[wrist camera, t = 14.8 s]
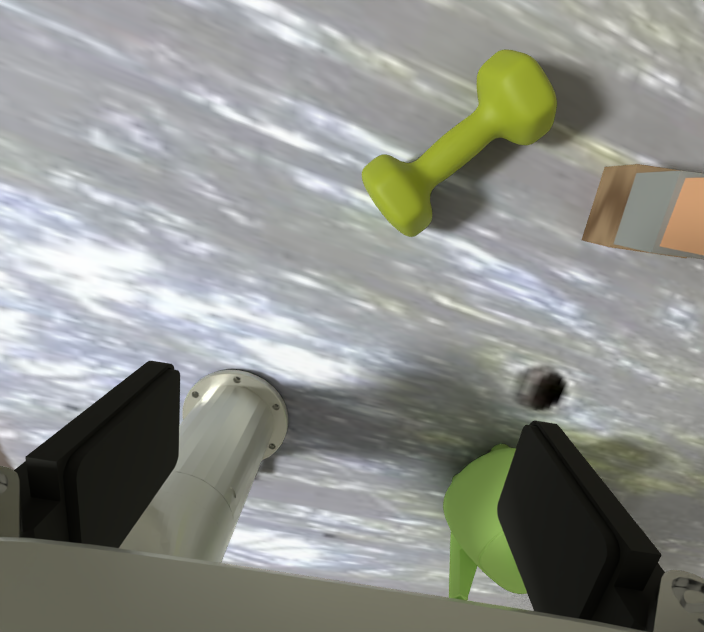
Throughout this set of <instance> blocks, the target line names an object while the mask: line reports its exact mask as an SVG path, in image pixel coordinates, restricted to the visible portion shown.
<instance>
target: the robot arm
mask: <svg viewBox="0 0 704 632" xmlns="http://www.w3.org/2000/svg"><path fill="white" fill-rule="evenodd" d="M238 377H239V378H238ZM277 404H278V405H277ZM179 413H180V373H179V371H178V370H174V366H173V365H172V364H169V363H162V362H156V361H148V362H147V363H145V364H144V365H143V366H141V367H140V368H139V369H138V370H136V371H135V372H134V373H132V374H131V375H130V376H129V377H127V378H126V379H125V380H123V381H122V382H121V383H120V384H118V385H117V386H116V387H114V388H113V389H112V390H111V391H109V392H108V393H107V394H105V395H104V396H103V397H102V398H100V399H99V400H98V401H96V402H95V403H94V404H93V405H91V406H90V407H89V408H88V409H86V410H85V411H84V412H82V413H81V414H80V415H79V416H77V417H76V418H75V419H73V420H72V421H71V422H70V423H68V424H67V425H66V426H64V427H63V428H62V429H61V430H59V431H58V432H57V433H55V434H54V435H53V436H52V437H50V438H49V439H48V440H46V441H45V442H44V443H43V444H41V445H40V446H39V447H37V448H36V449H35V450H34V451H32V452H31V453H30V454H29V455H27V456H26V461H25V462H24V463H23V464H21V465H20V466H19V467H18V468H16V469H15V470H12V469H11V468H8V467H3V466H0V632H704V579H703V578H701V577H699V576H697V575H695V574H691V573H688V572H685V571H680V570H670V571H667V572H664V571H663V569H662V568H661V567H660V565H659V564H658V561H659V559H660V557H661V553H660V552H659V551H658V550H657V548H656V547H655V546H654V545H653V543H652V542H651V541H650V540H649V538H648V537H647V536H646V535H645V533H644V532H643V531H642V530H641V528H640V527H639V526H638V525H637V523H636V522H635V521H634V520H633V518H632V517H631V516H630V515H629V513H628V512H627V511H626V510H625V508H624V507H623V506H622V505H621V503H620V502H619V501H618V500H617V498H616V497H615V496H614V495H613V493H612V492H611V491H610V490H609V488H608V487H607V486H606V485H605V483H604V482H603V481H602V479H601V478H600V477H599V476H598V474H597V473H596V472H595V471H594V469H593V468H592V467H591V466H590V464H589V463H588V462H587V461H586V459H585V458H584V457H583V456H582V454H581V453H580V452H579V451H578V449H577V448H576V447H575V446H574V444H573V443H572V442H571V441H570V439H569V438H568V437H567V436H566V434H565V433H564V432H563V431H562V429H561V428H560V427H559V426H558V425H557V424H553V423H547V422H540V421H532V422H531V424H530V425H525V426H524V427H523V430H522V432H521V435H520V438H519V441H518V444H517V447H516V450H515V453H514V456H513V459H512V462H511V465H510V468H509V471H508V474H507V477H506V480H505V483H504V486H503V489H502V492H501V495H500V498H499V501H498V505H497V515H498V519H499V522H500V524H501V527H502V530H503V532H504V535H505V537H506V540H507V542H508V545H509V547H510V550H511V553H512V555H513V558H514V560H515V563H516V565H517V568H518V571H519V573H520V576H521V578H522V581H523V583H524V586H525V588H526V591H527V594H528V596H529V599H530V601H531V604H532V606H533V609H534V611H530V610H523V609H517V608H511V607H504V606H498V605H492V604H486V603H479V602H473V601H467V600H460V599H454V598H448V597H442V596H435V595H429V594H423V593H416V592H410V591H403V590H397V589H390V588H384V587H377V586H371V585H364V584H358V583H351V582H345V581H338V580H332V579H325V578H318V577H312V576H305V575H299V574H292V573H286V572H279V571H272V570H265V569H259V568H252V567H245V566H238V565H231V564H224V563H221V562H222V560H223V557H224V554H225V552H226V549H227V547H228V544H229V542H230V539H231V537H232V534H233V532H234V529H235V527H236V524H237V522H238V519H239V517H240V514H241V512H242V509H243V507H244V504H245V502H246V499H247V497H248V494H249V492H250V489H251V487H252V484H253V481H254V479H255V476H256V474H257V471H258V469H259V466H260V464H261V461H262V460H264V459H266V458H268V457H270V456H271V455H272V454H273V453H274V452H276V451H277V449H278V448H279V447H280V446H281V444H282V442H283V440H284V438H285V435H286V432H287V429H288V412H287V409H286V405H285V403H284V401H283V399H282V397H281V396H280V394H279V393H278V392H277V391H276V389H275V388H274V387H273V386H272V385H270V384H269V383H268V382H267V381H265V380H264V379H262V378H260V377H259V376H257V375H254V374H251V373H249V372H245V371H240V370H222V371H217V372H214V373H211V374H208V375H207V376H205V377H204V378H202V379H200V380H199V381H198V382H197V383H196V384H195V385H194V386H193V387H192V389H191V390H190V391H189V392H188V394H187V396H186V398H185V401H184V405H183V421H182V423H181V424H180V425H179Z"/></svg>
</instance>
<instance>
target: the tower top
mask: <svg viewBox="0 0 704 632" xmlns="http://www.w3.org/2000/svg"><path fill="white" fill-rule="evenodd" d="M703 177H704V173H696V172H688V171H665V172H647V173H636V176H635V179H634V182H633V185H632V188H631V191H630V194H629V197H628V201H627V204H626V207H625V210H624V213H623V216H622V219H621V222H620V225H619V228H618V231H617V234H616V238H615V241H614V244H616V245H620V246H624V247H629V248H633V249H637V250H642V251H646V252H650V253H657V254H665V255H673V256H681V257H689V258H697V259H704V255H699V254H694V253H689V252H685V251H680V250H675V249H670V248H665V247H660V244H661V241H662V239H663V236H664V233H665V231H666V228H667V225H668V223H669V220H670V218H671V215H672V212H673V210H674V207H675V204H676V202H677V199H678V197H679V194H680V191H681V189H682V186H683V184H684V181H685V178H703Z"/></svg>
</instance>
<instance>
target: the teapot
mask: <svg viewBox="0 0 704 632" xmlns="http://www.w3.org/2000/svg"><path fill="white" fill-rule="evenodd" d="M515 450H516V448H510V447H509V446H507V445H505V444H498V445H496V446H494V447H493V448H492V449H491V452H490V453H487V454H485V455H483V456H481V457H479V458H477V459H476V460H474V461H473V462H471V463H470V464H469V465H467V466H466V467H465V468H464V469H463V470H462V471H461V472H460V473H458V474H456V475H455V476H454V477H453V478H452V483H451V485H450V486H449V488H448V490H447V492H446V494H445V497H444V502H443V510H444V514H445V518H446V520H447V523H448V525H449V528H450V530H451V539H450V574H449V598H454V599H460V600H468V594H469V591H470V588H471V585H472V582H473V578H474V575H475V572H476V569H477V566H478V567H479V568H480V569H481V570H482V571H483V572H484V573H485V574H486V575H487V576H488V577H490V578H491V579H492V580H493V581H494V582H496V583H497V584H498V585H499V586H501V587H502V588H504V589H506V590H508V591H510V592H513V593H517V594H526V593H527V591H526V588H525V586H524V583H523V581H522V578H521V576H520V573H519V571H518V568H517V565H516V563H515V560H514V558H513V555H512V553H511V550H510V547H509V545H508V542H507V540H506V537H505V535H504V532H503V530H502V527H501V524H500V522H499V519H498V515H497V505H498V501H499V498H500V495H501V492H502V489H503V486H504V483H505V480H506V477H507V474H508V471H509V468H510V465H511V462H512V459H513V456H514V453H515Z"/></svg>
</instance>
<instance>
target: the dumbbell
mask: <svg viewBox="0 0 704 632" xmlns="http://www.w3.org/2000/svg"><path fill="white" fill-rule="evenodd" d="M477 95H478V101H479V105H478V107H477V109H476V110H475V111H474V112H473V113H472V114H471V115H470V116H468V117H467V118H466V119H464V120H463V121H461V122H460V123H459V124H457V125H456V126H455V127H454V128H452V129H451V130H450V131H448V132H447V133H446V134H445V135H443V136H442V137H441V138H440V139H439V140H438V141H437V142H436V143H434V144H433V145H432V146H431V147H430V148H429V149H428V150H427V151H426V152H425V153H424V154H423V155H422V156H421V157H420V158H419V159H418V160H416V161H414V162H412V163H405V162H402V161H399V160H398V159H396V158H394V157H392V156H390V155H380V156H378V157H376V158H375V159H373V160H372V161H371V162H370V163H369V164H368V165H366V166H365V168H364V169H363V171H362V180H363V184H364V186H365V188H366V190H367V192H368V193H369V195H370V197H371V199H372V200H373V202H374V203H375V205H376V206H377V207H378V209H379V210H380V211H381V213H382V214H383V215H384V217H385V218H386V219H387V220H388V221H389V223H390V224H392V225H393V226H394V227H395V228H396V229H397V230H398V231H400V232H401V233H403V234H404V235H406V236H409V237H413V236H416V235H418V234H419V233H420V232H422V231H423V230H424V229H425V228H426V227H427V226H428V225H429V224H430V222H431V220H432V208H431V203H430V194H431V192H432V190H433V188H434V187H435V186H436V185H438V184H439V183H441V182H442V181H444V180H445V179H447V178H448V177H449V176H451V175H452V174H453V173H455V172H456V171H457V170H459V169H460V168H461V167H462V166H464V165H465V164H466V163H467V162H468V161H470V160H471V159H472V158H473V157H474V156H476V155H477V154H478V153H479V152H480V151H481V150H482V149H483V148H484V147H485V146H486V145H487V144H488V143H490V142H491V141H492V140H494V139H496V138H505V139H507V140H509V141H511V142H513V143H516V144H519V145H530V144H532V143H534V142H536V141H537V140H539V139H540V138H541V137H542V136H544V135H545V134H546V133H547V132H548V131H549V130H550V129H551V127H552V125H553V122H554V118H555V113H556V108H557V99H556V95H555V91H554V89H553V87H552V85H551V83H550V81H549V80H548V78H547V76H546V74H545V73H544V71H543V70H542V68H541V67H540V65H539V64H538V63H537V61H536V60H535V59H534V58H532V57H531V56H529V55H527V54H524V53H521V52H517V51H514V50H505V49H504V50H501V51H498V52H497V53H495V54H494V55H493V56H492V57H491V58H490V59H488V60H487V61H486V62H485V63H484V64H483V66H482V67H481V68H480V70H479V72H478V75H477Z"/></svg>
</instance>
